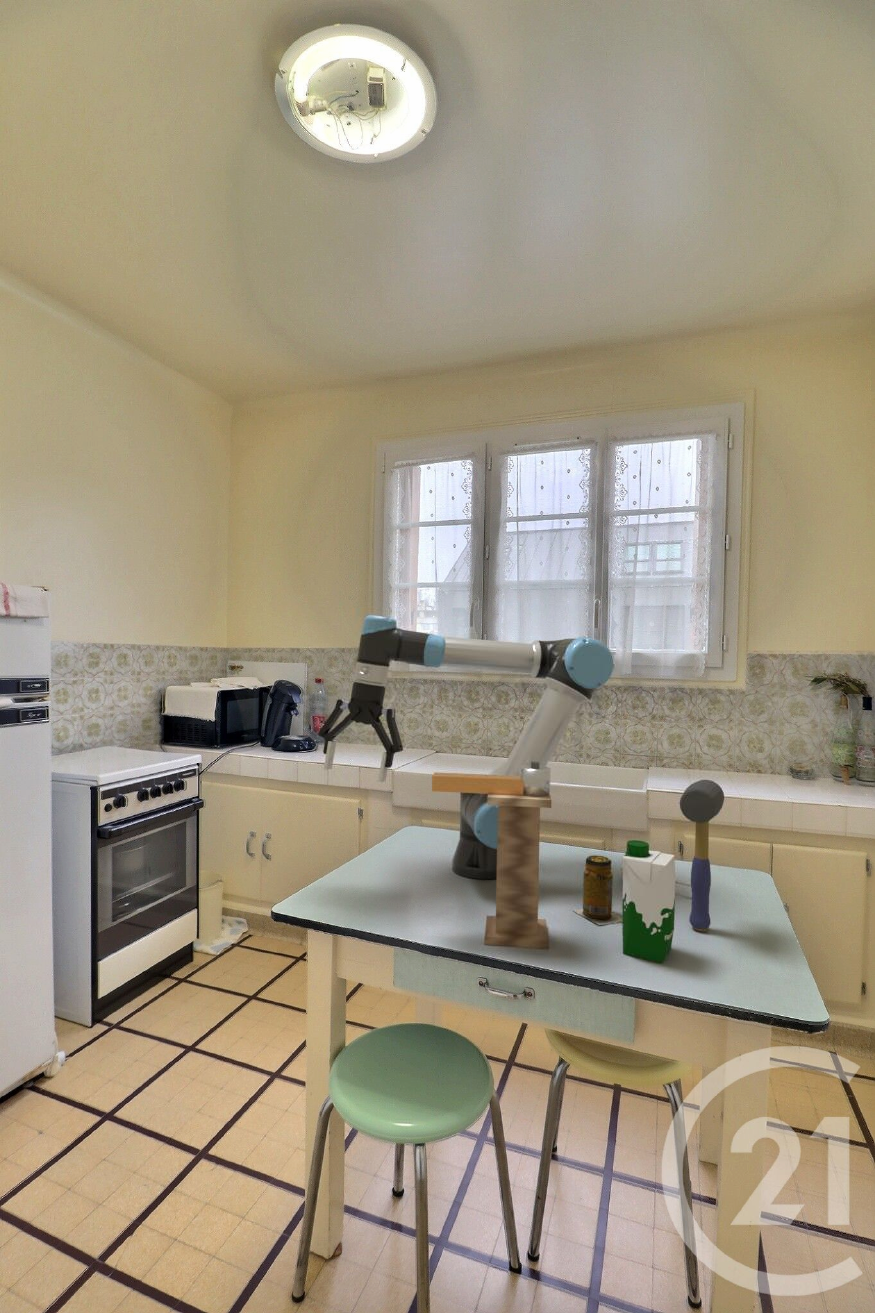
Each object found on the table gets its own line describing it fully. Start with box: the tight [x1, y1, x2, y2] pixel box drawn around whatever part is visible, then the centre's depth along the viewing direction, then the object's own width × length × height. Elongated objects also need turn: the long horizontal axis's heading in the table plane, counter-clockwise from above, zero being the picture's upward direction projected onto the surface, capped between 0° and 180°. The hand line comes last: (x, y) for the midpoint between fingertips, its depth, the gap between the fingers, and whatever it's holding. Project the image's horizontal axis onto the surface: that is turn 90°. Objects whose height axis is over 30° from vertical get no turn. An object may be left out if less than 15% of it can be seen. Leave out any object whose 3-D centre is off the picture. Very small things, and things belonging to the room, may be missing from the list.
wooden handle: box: [431, 761, 551, 797], centre depth 128 cm, size 23×6×6 cm, turn 83°
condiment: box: [573, 854, 622, 926], centre depth 138 cm, size 7×8×12 cm
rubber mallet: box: [679, 779, 725, 932], centre depth 132 cm, size 12×8×30 cm, turn 149°
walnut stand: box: [484, 794, 552, 950], centre depth 128 cm, size 12×10×28 cm
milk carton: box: [621, 839, 676, 964], centre depth 122 cm, size 9×9×20 cm
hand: (354, 775), depth 148 cm, fingers open, 13 cm apart
